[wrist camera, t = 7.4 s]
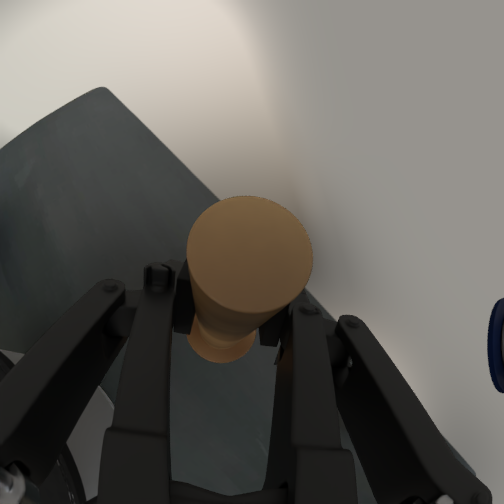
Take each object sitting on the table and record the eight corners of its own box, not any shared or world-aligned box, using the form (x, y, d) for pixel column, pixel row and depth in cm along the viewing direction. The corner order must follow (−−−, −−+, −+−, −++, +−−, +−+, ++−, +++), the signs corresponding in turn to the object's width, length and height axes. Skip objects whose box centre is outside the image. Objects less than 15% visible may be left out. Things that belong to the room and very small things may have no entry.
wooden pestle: (208, 288, 22) (218, 143, 8) (263, 319, 22) (368, 224, 8) (175, 341, 20) (105, 279, 6) (232, 374, 20) (298, 395, 5)
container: (151, 406, 24) (105, 440, 11) (111, 518, 16) (71, 578, 3) (27, 327, 24) (-53, 293, 11) (-2, 437, 16) (-72, 446, 2)
